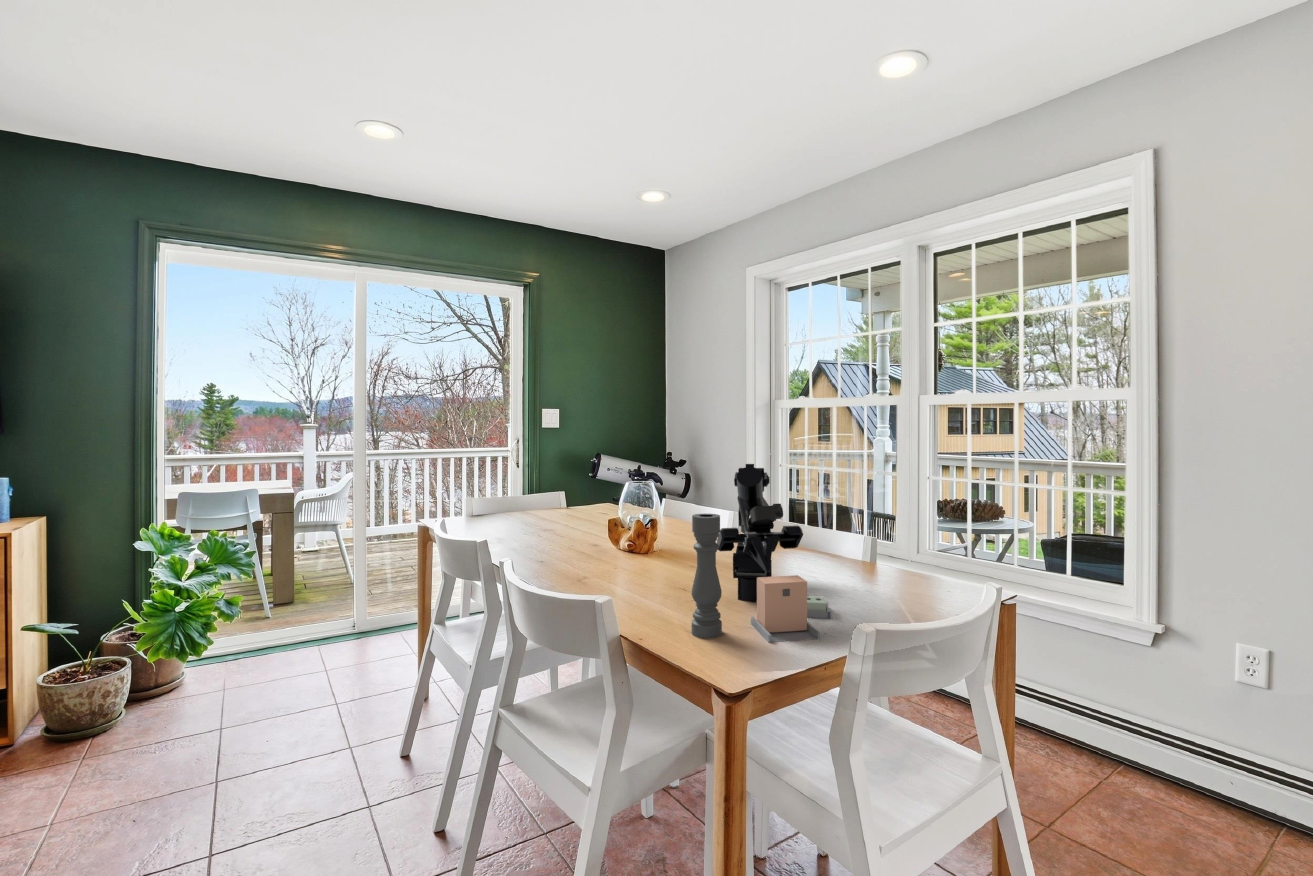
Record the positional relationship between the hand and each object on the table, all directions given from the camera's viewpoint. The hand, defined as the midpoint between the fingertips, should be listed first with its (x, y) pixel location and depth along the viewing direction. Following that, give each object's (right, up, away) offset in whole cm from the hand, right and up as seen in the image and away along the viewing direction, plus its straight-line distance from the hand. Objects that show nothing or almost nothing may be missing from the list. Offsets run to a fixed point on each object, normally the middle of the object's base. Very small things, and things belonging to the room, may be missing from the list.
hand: (767, 571), depth 139 cm
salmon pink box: (+2, -11, -7) cm, 13 cm away
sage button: (+11, -10, +4) cm, 15 cm away
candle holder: (-14, -12, -9) cm, 20 cm away
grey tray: (+2, -12, -8) cm, 14 cm away
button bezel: (+11, -11, +4) cm, 16 cm away
